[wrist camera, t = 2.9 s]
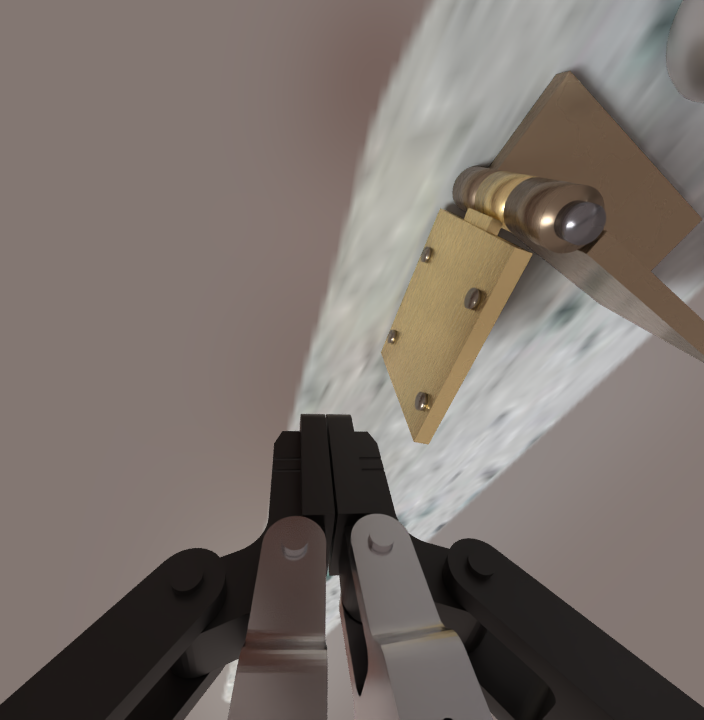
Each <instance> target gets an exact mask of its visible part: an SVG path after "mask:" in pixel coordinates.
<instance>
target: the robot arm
mask: <svg viewBox="0 0 704 720" xmlns="http://www.w3.org/2000/svg"><path fill="white" fill-rule="evenodd" d="M328 566H329V576H333V575H339V577H340V588H341V594H340V600H339V612H340V618H341V624H342V631H343V637H344V643H345V650H346V656H347V662H348V668H349V675H350V681H351V687H352V694H353V701H354V720H493V718H492V716H491V713H492V714H493V715H494V716H495V717H496V718H497V719H498V720H704V707H702V706H701V705H700V704H698V703H697V702H696V701H694V700H693V699H692V698H690V697H689V696H688V695H687V694H685V693H684V692H683V691H681V690H680V689H679V688H677V687H676V686H675V685H673V684H672V683H671V682H669V681H668V680H667V679H666V678H664V677H663V676H661V675H660V674H659V673H658V672H656V671H655V670H654V669H652V668H651V667H650V666H648V665H647V664H646V663H645V662H643V661H642V660H640V659H639V658H638V657H637V656H635V655H634V654H633V653H631V652H630V651H629V650H627V649H626V648H625V647H624V646H622V645H621V644H619V643H618V642H617V641H615V640H614V639H613V638H612V637H610V636H609V635H608V634H606V633H605V632H603V630H601V629H600V628H599V627H597V626H596V625H595V624H593V623H592V622H591V621H589V620H588V619H587V618H585V617H584V616H583V615H582V614H580V613H579V612H578V611H576V610H575V609H574V608H572V607H571V606H570V605H568V604H567V603H565V602H564V601H563V600H562V599H560V598H559V597H558V596H556V595H555V594H554V593H553V592H551V591H550V590H549V589H547V588H546V587H545V586H543V585H542V584H541V583H539V582H538V581H537V580H536V579H534V578H533V577H532V576H530V575H529V574H528V573H526V572H525V571H524V570H522V569H521V568H520V567H519V566H517V565H516V564H514V563H513V562H512V561H510V560H509V559H508V558H507V557H505V556H504V555H503V554H501V553H500V552H499V551H498V550H496V549H495V548H493V547H492V546H491V545H489V544H487V543H485V542H483V541H480V540H477V539H470V538H467V539H461V540H459V541H457V542H455V543H454V544H453V545H452V546H451V548H450V549H448V548H444V547H440V546H437V545H433V544H430V543H426V542H424V541H421V540H419V539H417V538H415V537H413V536H412V535H411V534H409V533H408V531H407V530H406V528H405V527H404V526H403V525H402V524H401V523H400V522H399V521H398V519H397V517H396V514H395V510H394V506H393V502H392V498H391V495H390V491H389V487H388V483H387V479H386V475H385V472H384V468H383V464H382V460H381V456H380V452H379V449H378V445H377V443H376V442H375V440H374V439H373V438H372V437H371V435H370V434H369V433H368V432H354V429H353V423H352V418H351V415H340V414H326V418H325V414H301V417H300V431H282V433H281V434H280V436H279V437H278V439H277V440H276V442H275V443H274V454H273V468H272V480H271V493H270V506H269V518H268V523H267V526H266V528H265V530H264V532H263V533H262V535H261V536H260V538H258V539H257V540H256V541H255V542H254V543H252V544H251V545H250V546H248V547H246V548H245V549H242V550H240V551H237V552H234V553H231V554H228V555H226V556H223V557H219V556H218V555H217V554H216V553H214V552H212V551H210V550H207V549H202V548H192V549H188V550H184V551H181V552H179V553H176V554H174V555H173V556H171V557H170V558H169V559H167V560H166V561H164V562H163V563H162V564H161V565H160V566H159V567H157V569H155V570H154V571H153V572H152V573H151V574H150V575H148V576H147V577H146V578H145V579H144V580H143V581H142V582H140V583H139V584H138V585H137V586H136V587H135V588H133V589H132V590H131V591H130V592H129V593H128V594H127V595H125V597H123V598H122V599H121V600H120V601H119V602H117V603H116V604H115V605H114V606H113V607H112V608H111V609H109V610H108V611H107V612H106V613H105V614H104V615H103V616H102V617H100V618H99V619H98V620H97V621H96V622H95V623H93V624H92V625H91V626H90V627H89V628H88V629H87V630H85V631H84V632H83V633H82V634H81V635H80V636H78V637H77V638H76V639H75V640H74V641H73V642H72V643H70V644H69V645H68V646H67V647H66V648H65V649H64V650H63V651H61V652H60V653H59V654H58V655H57V656H56V657H54V658H53V659H52V660H51V661H50V662H49V663H48V664H46V665H45V666H44V667H43V668H42V669H41V670H40V671H38V672H37V673H36V674H35V675H34V676H33V677H32V678H30V679H29V680H28V681H27V682H26V683H25V684H24V685H22V686H21V687H20V688H19V689H18V690H17V691H15V692H14V693H13V694H12V695H11V696H10V697H9V698H7V699H6V700H5V701H4V702H3V703H2V704H1V705H0V720H184V719H185V718H186V716H187V715H188V714H189V712H190V711H191V710H192V709H193V707H194V706H195V705H196V703H197V702H198V701H199V699H200V698H201V697H202V696H203V694H204V693H205V692H206V690H207V689H208V688H209V687H210V685H211V684H212V683H213V681H214V680H215V679H216V677H217V676H218V675H219V674H220V672H221V671H222V670H223V668H224V667H225V665H226V664H228V663H230V662H232V661H234V660H237V659H239V660H238V665H237V670H236V676H235V681H234V687H233V692H232V698H231V704H230V709H229V715H228V720H327V692H328V690H327V689H328V682H327V681H328V680H327V679H328V658H327V645H326V642H325V616H326V576H327V569H328ZM490 712H491V713H490Z"/></svg>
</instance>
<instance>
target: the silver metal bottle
mask: <svg viewBox="0 0 704 720" xmlns="http://www.w3.org/2000/svg"><path fill="white" fill-rule="evenodd" d="M666 65H667V70H668V74H669V77H670V79H671V81H672V82H673V84H674V86H675V87H676V89H677V91H678V92H679V93H680V94H681V95H682V96H683V97H685V98H686V99H689V100H691V101H694V102H699V103H704V0H683V1H682V3H681V5H680V7H679V9H678V11H677V13H676V15H675V17H674V20H673V23H672V26H671V28H670V32H669V36H668V41H667V47H666Z"/></svg>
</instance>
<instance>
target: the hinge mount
mask: <svg viewBox="0 0 704 720" xmlns="http://www.w3.org/2000/svg"><path fill="white" fill-rule="evenodd" d="M498 171H507V172H513V173H519V174H525V175H531V176H536V177H533V178H529V179H526V180H524V181H523V182H521V183H520V184H518V185H517V186H516V187H515V188H514V189H513V190H512V191H511V193H510V194H509V196H508V198H507V200H506V202H505V206H504V212H503V216H504V222H505V224H506V226H507V228H508V229H509V230H510V231H511V232H512V234H513V235H514V236H516V237H517V238H518V239H519V240H521V241H522V242H523V243H524V244H526V245H527V246H528V247H529V248H531V249H532V250H533V251H534V252H536V253H537V254H538V255H539V256H541V257H542V258H543V259H544V260H546V261H547V262H548V263H549V264H550V265H552V266H553V267H554V268H555V269H557V270H558V271H559V272H560V273H562V274H563V275H564V276H565V277H567V278H568V279H569V280H570V281H572V282H573V283H574V284H575V285H577V286H578V287H579V288H580V289H582V290H583V291H584V292H585V293H587V294H588V295H589V296H590V297H591V298H593V299H594V300H595V301H596V302H598V303H599V304H600V305H602V306H604V307H606V308H608V309H609V310H611V311H613V312H615V313H616V314H618V315H620V316H622V317H623V318H625V319H627V320H629V321H631V322H632V323H634V324H636V325H638V326H639V327H641V328H643V329H645V330H647V331H648V332H650V333H652V334H654V335H655V336H657V337H659V338H661V339H663V340H664V341H667V342H668V343H670V344H671V345H673V346H675V347H677V348H679V349H680V350H682V351H684V352H686V353H687V354H689V355H691V356H693V357H695V358H696V359H698V360H700V361H702V362H703V363H704V321H703V320H702V319H701V318H700V317H699V316H698V315H697V314H696V313H695V312H693V311H692V310H691V309H690V308H689V307H688V306H687V305H686V304H685V303H684V302H683V301H682V300H681V299H680V298H678V297H677V296H676V295H675V294H674V293H673V292H672V291H671V290H670V289H669V288H668V287H667V286H666V285H665V284H663V283H662V282H661V281H660V280H659V279H658V278H657V277H656V276H655V275H654V274H653V273H652V272H651V270H652V269H653V268H654V267H655V266H656V265H657V264H658V263H659V262H660V261H661V260H662V259H663V258H664V257H665V256H666V255H667V254H668V253H669V252H670V251H671V250H672V249H673V248H674V247H675V246H676V245H677V244H678V243H679V242H680V241H681V240H682V239H683V238H684V237H685V236H686V235H687V234H688V233H689V232H690V231H691V230H692V229H693V228H694V227H695V226H696V225H697V224H698V223H699V222H700V221H701V220H702V218H701V217H700V216H699V215H698V214H697V213H696V212H695V210H694V209H693V208H692V207H691V206H690V205H689V204H688V203H687V201H686V200H685V199H684V198H683V197H682V196H681V195H680V194H679V193H678V191H677V190H676V189H675V188H674V187H673V186H672V185H671V184H670V182H669V181H668V180H667V179H666V178H665V177H664V176H663V175H662V173H661V172H660V171H659V170H658V169H657V168H656V167H655V166H654V164H653V163H652V162H651V161H650V160H649V159H648V158H647V157H646V155H645V154H644V153H643V152H642V151H641V150H640V149H639V148H638V147H637V145H636V144H635V143H634V142H633V141H632V140H631V139H630V138H629V136H628V135H627V134H626V133H625V132H624V131H623V130H622V129H621V127H620V126H619V125H618V124H617V123H616V122H615V121H614V120H613V118H612V117H611V116H610V115H609V114H608V113H607V112H606V111H605V109H604V108H603V107H602V106H601V105H600V104H599V103H598V102H597V101H596V99H595V98H594V97H593V96H592V95H591V94H590V93H589V92H588V90H587V89H586V88H585V87H584V86H583V85H582V84H581V83H580V81H579V80H578V79H577V78H576V77H575V76H574V75H573V74H572V72H571V71H568V72H564V73H560V74H556V75H555V77H554V78H553V79H552V81H551V82H550V84H549V85H548V86H547V88H546V89H545V90H544V92H543V93H542V95H541V96H540V97H539V99H538V100H537V101H536V103H535V104H534V106H533V107H532V108H531V110H530V111H529V113H528V114H527V115H526V117H525V118H524V119H523V121H522V122H521V124H520V125H519V126H518V128H517V129H516V130H515V132H514V133H513V135H512V136H511V137H510V139H509V140H508V142H507V143H506V144H505V146H504V147H503V148H502V150H501V151H500V153H499V154H498V155H497V157H496V158H495V159H494V161H493V162H492V164H491V165H490V166H489V168H484V167H478V166H474V167H470V168H468V169H466V170H464V171H463V172H462V173H461V174H460V175H459V176H458V177H457V179H456V181H455V183H454V186H453V199H454V202H455V204H456V205H457V206H458V207H459V208H460V209H461V210H464V211H466V212H467V211H468V208H471V209H474V210H476V208H475V195H476V192H477V189H478V187H479V186H480V184H481V183H482V182H483V180H484V179H485V178H486V177H488V176H489V175H491V174H493V173H495V172H498Z"/></svg>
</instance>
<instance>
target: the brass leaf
mask: <svg viewBox="0 0 704 720" xmlns="http://www.w3.org/2000/svg"><path fill="white" fill-rule="evenodd" d="M533 177H536V176H531V175H525V174H519V173H513V172H507V171H498V172H495V173H493V174H491V175H489V176H488V177H486V178H485V179H484V180H483V182H482V183H481V184H480V186H479V187H478V189H477V192H476V195H475V208H476V210H474V209H471V208H468V211H467V213H466V215H465V217H464V218H462V217H460V216H458V215H456V214H454V213H452V212H449V211H446V210H443V209H441V208H440V210H439V213H438V215H437V217H436V220H435V222H434V225H433V227H432V230H431V232H430V234H429V237H428V239H427V242H426V244H425V247H424V249H423V252H422V254H421V256H420V259H419V261H418V264H417V266H416V269H415V271H414V273H413V276H412V278H411V281H410V283H409V286H408V288H407V290H406V293H405V295H404V298H403V300H402V303H401V305H400V307H399V310H398V312H397V315H396V317H395V320H394V322H393V324H392V327H391V329H390V332H389V334H388V337H387V339H386V341H385V344H384V346H383V349H382V351H381V354H382V356H383V359H384V362H385V365H386V367H387V370H388V373H389V375H390V378H391V381H392V384H393V386H394V389H395V392H396V394H397V397H398V400H399V403H400V405H401V408H402V411H403V413H404V416H405V419H406V422H407V424H408V427H409V430H410V432H411V435H412V438H413V441H414V442H418V443H423V444H429V443H430V441H431V439H432V437H433V435H434V433H435V432H436V430H437V428H438V426H439V424H440V423H441V421H442V419H443V417H444V415H445V413H446V412H447V410H448V408H449V406H450V404H451V402H452V401H453V399H454V397H455V395H456V393H457V391H458V390H459V388H460V386H461V384H462V382H463V381H464V379H465V377H466V375H467V373H468V371H469V370H470V368H471V366H472V364H473V362H474V360H475V359H476V357H477V355H478V353H479V351H480V349H481V348H482V346H483V344H484V342H485V340H486V339H487V337H488V335H489V333H490V331H491V329H492V328H493V326H494V324H495V322H496V320H497V318H498V317H499V315H500V313H501V311H502V309H503V307H504V306H505V304H506V302H507V300H508V298H509V296H510V295H511V293H512V291H513V289H514V287H515V286H516V284H517V282H518V280H519V278H520V276H521V275H522V273H523V271H524V269H525V267H526V265H527V264H528V262H529V260H530V258H531V256H532V253H530V252H529V251H527V250H525V249H523V248H521V247H519V246H517V245H515V244H513V243H511V242H509V241H507V240H505V239H503V238H501V237H499V236H497V235H498V233H499V231H500V229H501V228H503V229H505V230H507V231H509V232H511V231H510V230H509V229H508V228H507V226H506V224H505V222H504V216H503V212H504V206H505V202H506V200H507V198H508V196H509V194H510V193H511V191H512V190H513V189H514V188H515V187H516V186H517V185H518V184H520V183H521V182H523V181H524V180H526V179H529V178H533ZM511 233H512V232H511Z"/></svg>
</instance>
